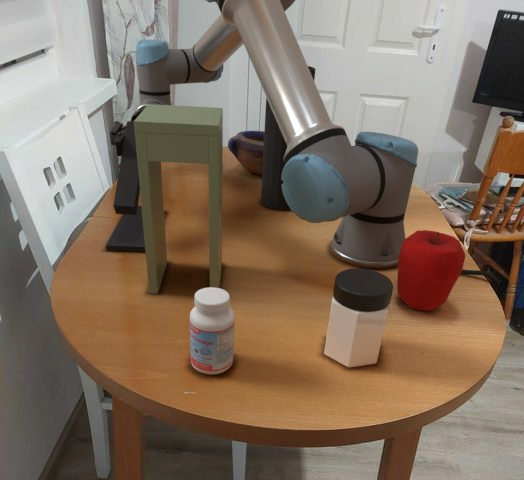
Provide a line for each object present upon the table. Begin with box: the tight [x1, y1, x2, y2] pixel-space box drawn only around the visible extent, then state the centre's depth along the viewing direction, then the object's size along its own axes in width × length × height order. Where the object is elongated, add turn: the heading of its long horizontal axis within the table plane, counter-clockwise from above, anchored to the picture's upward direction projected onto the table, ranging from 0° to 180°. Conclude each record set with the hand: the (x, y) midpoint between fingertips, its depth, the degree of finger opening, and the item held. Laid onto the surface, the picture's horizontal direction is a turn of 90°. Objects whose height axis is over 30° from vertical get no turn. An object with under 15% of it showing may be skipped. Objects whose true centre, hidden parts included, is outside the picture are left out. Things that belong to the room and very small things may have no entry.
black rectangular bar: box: [112, 120, 140, 215], centre depth 104 cm, size 22×4×2 cm, turn 1°
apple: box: [396, 229, 466, 312], centre depth 87 cm, size 11×10×14 cm
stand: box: [134, 104, 224, 295], centre depth 87 cm, size 12×12×28 cm
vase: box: [260, 65, 316, 211], centre depth 120 cm, size 10×10×30 cm
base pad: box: [105, 205, 146, 253], centre depth 111 cm, size 22×8×1 cm, turn 1°
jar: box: [323, 267, 394, 369], centre depth 75 cm, size 9×8×12 cm
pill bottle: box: [189, 286, 235, 375], centre depth 71 cm, size 6×6×11 cm
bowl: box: [227, 130, 265, 176], centre depth 146 cm, size 18×18×10 cm
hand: (130, 149), depth 103 cm, fingers closed on black rectangular bar, 4 cm apart
